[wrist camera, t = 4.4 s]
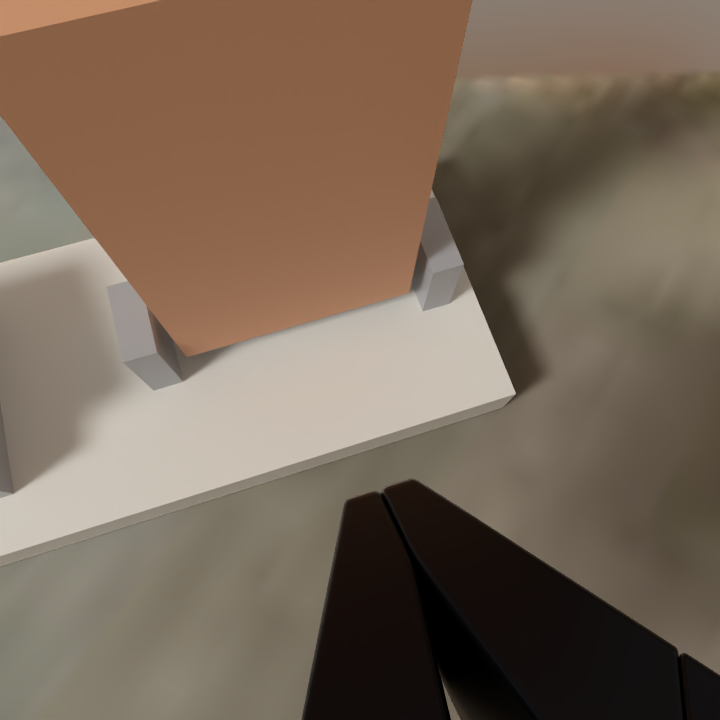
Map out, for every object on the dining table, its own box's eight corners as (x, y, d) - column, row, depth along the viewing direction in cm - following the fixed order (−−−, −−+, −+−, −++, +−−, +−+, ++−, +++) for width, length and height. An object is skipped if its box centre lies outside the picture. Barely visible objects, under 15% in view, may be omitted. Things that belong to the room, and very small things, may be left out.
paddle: (407, 303, 17) (487, -74, 7) (193, 365, 17) (-52, 48, 6) (389, 256, 18) (442, -160, 8) (180, 315, 17) (-67, -56, 7)
